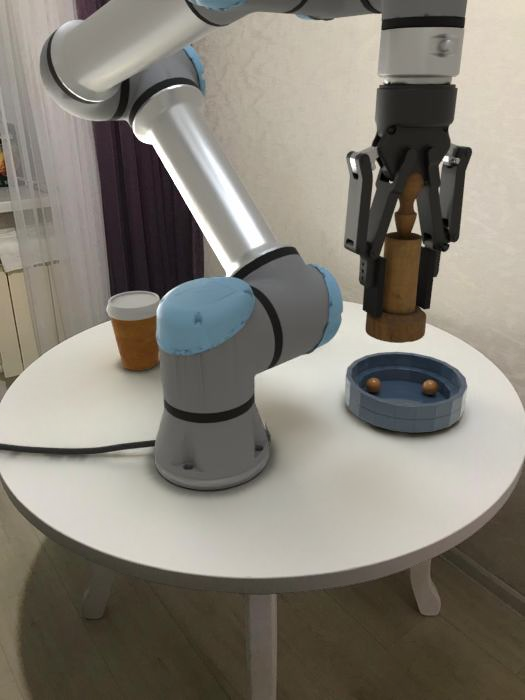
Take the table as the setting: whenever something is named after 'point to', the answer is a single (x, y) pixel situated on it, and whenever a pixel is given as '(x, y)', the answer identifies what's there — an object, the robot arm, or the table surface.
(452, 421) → the bowl
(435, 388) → the bead
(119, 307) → the disposable coffee cup
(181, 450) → the robot arm
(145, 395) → the table surface
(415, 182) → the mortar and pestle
